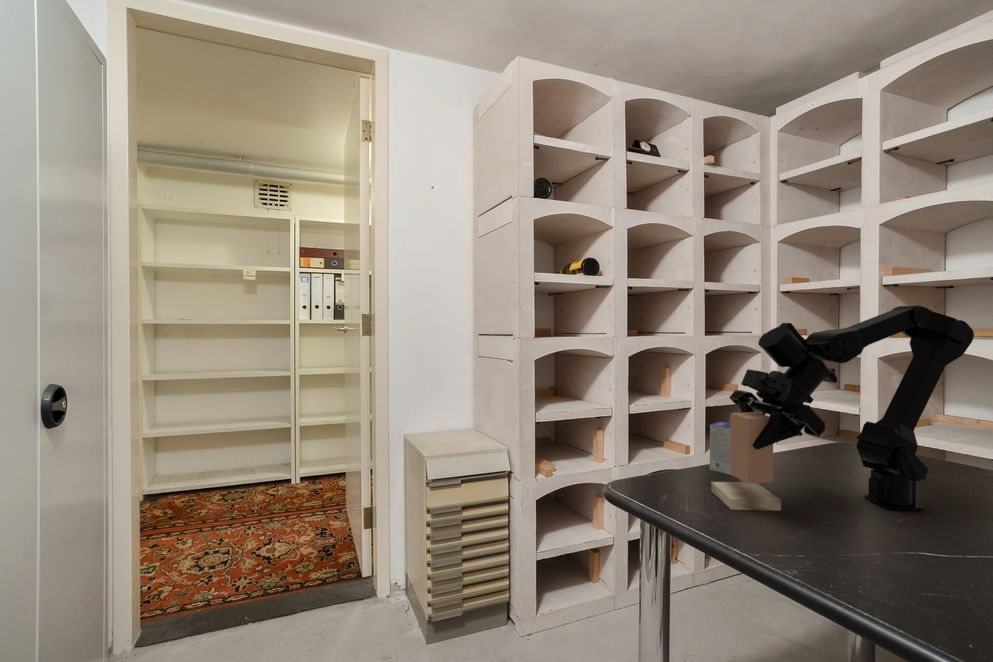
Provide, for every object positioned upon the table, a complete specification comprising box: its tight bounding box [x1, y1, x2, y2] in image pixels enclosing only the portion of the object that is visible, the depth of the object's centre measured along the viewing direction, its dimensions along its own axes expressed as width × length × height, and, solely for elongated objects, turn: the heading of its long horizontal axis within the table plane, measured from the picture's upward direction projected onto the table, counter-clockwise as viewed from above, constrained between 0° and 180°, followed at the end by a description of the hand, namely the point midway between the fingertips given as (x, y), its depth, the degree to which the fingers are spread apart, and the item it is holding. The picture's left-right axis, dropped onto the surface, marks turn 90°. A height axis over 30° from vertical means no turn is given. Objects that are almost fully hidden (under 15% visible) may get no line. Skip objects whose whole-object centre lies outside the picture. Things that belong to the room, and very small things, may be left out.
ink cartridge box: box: [709, 415, 732, 476], centre depth 105 cm, size 10×6×14 cm, turn 37°
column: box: [730, 412, 774, 484], centre depth 86 cm, size 5×5×12 cm
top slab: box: [710, 481, 782, 511], centre depth 89 cm, size 9×9×2 cm
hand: (744, 443), depth 86 cm, fingers closed on column, 5 cm apart
